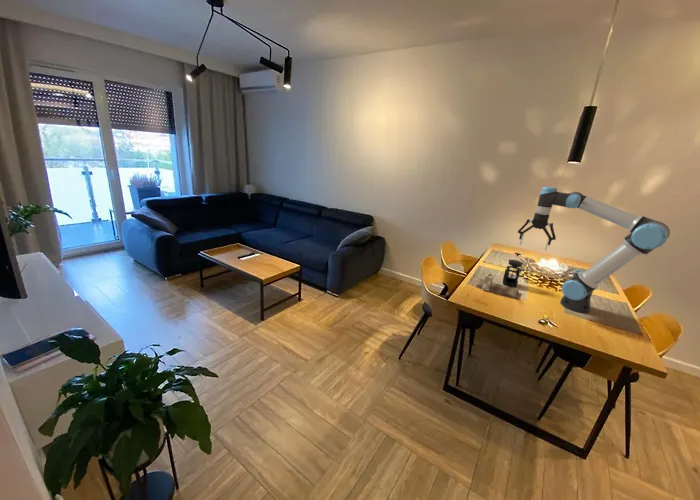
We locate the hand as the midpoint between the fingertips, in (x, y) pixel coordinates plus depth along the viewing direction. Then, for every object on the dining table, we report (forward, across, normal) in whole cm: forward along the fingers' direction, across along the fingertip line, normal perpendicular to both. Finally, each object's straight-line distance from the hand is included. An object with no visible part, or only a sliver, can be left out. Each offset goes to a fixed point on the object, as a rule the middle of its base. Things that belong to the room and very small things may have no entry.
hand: (532, 247), depth 187 cm
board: (+33, +13, +4) cm, 35 cm away
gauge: (+33, +19, +8) cm, 39 cm away
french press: (+33, +8, -12) cm, 36 cm away
